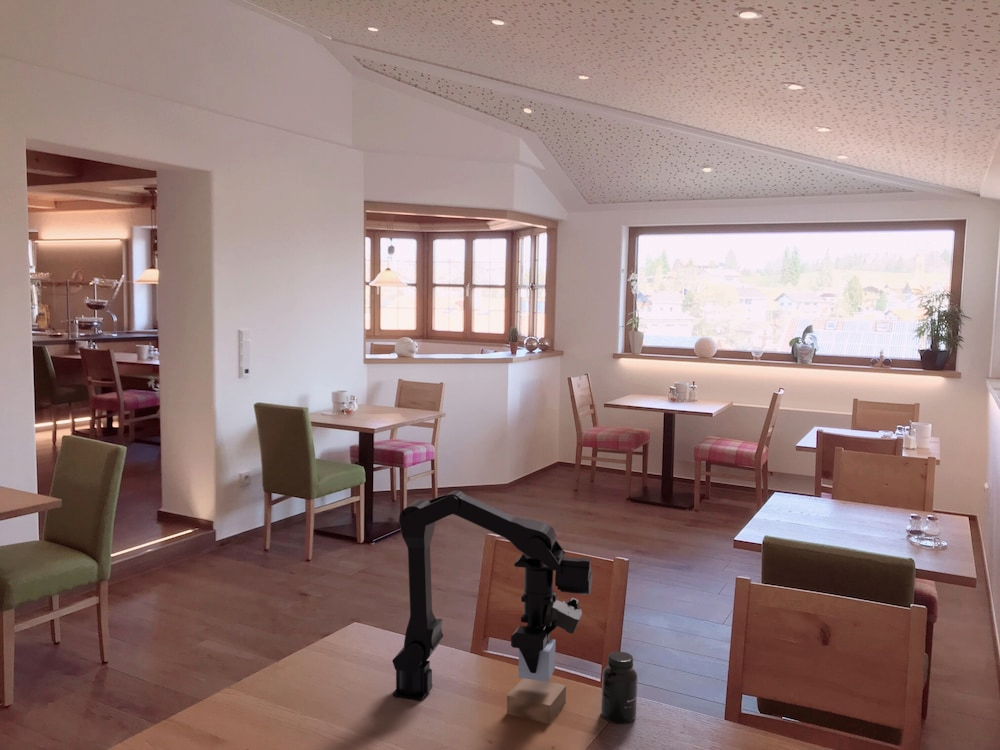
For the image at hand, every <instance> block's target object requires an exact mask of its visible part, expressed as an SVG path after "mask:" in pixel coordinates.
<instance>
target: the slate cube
mask: <svg viewBox="0 0 1000 750" xmlns="http://www.w3.org/2000/svg"><path fill="white" fill-rule="evenodd" d="M547 641H548V644H547V645H546V647H545V648H544V650H542V651H540V656H539V661H538V666H537V671H536V673H531V672H530V670H529V668H528V666H527V664H526V662H525V660H524V657H523V655H522V653H521V651H520V650H519V649H518V678H520V679H523V678H525V679H531V680H538V681H545V682H550V679H551V677H552V676H553V674H554V671H555V670H556V648H557V646H556V639H555V638H554V639H553V638H549V639H547Z"/></svg>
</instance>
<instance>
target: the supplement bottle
mask: <svg viewBox="0 0 1000 750" xmlns="http://www.w3.org/2000/svg"><path fill="white" fill-rule="evenodd" d="M601 676H602V677H601V705H600V707H601V708H600V712H601V715H602V717H603V718H604V719H605V720H607V721H609V722H610V723H611V722H612V723H615V724H626V723H627V724H628V723H630V722H633V721H634V720H635V719H636V716H637V705H638V704H637V699H638V678H639V677H638V673H637V671H636V670H635V669H634V657H633V655H632V654H630V653H628V652H625V651H613V652H610V653H609V654H608V655H607V666H606V667H604V669H603V671H602V675H601Z"/></svg>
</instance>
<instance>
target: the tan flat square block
mask: <svg viewBox="0 0 1000 750" xmlns="http://www.w3.org/2000/svg"><path fill="white" fill-rule="evenodd" d="M564 704H567V685H565V684H561V683H558V682H554V681H553V682H552V681H549V682H545V681H538V680H531V679H525V678H521V680H520V681H519V682H518V683H517V684H515V686H514V687H513V688H512V690H511V691H510V692H509V693H508V694H507V695H506V714H507V715H512V716H515V717H519V718H524V719H527V720H531V721H535V722H539V721H540V722H539V723H544V724H547V725H551V723H552V722H553V721H554V719H555V718H556V717H555V716H558V714H559V713H558V712H560V711H561V710H562V709H561V708H563V707H564V706H565V705H564ZM563 705H564V706H563ZM557 713H558V714H557Z"/></svg>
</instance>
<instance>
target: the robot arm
mask: <svg viewBox="0 0 1000 750" xmlns="http://www.w3.org/2000/svg"><path fill="white" fill-rule="evenodd" d="M451 515H454V516H456V517H459V518H460V519H463V520H466V521H467V522H470V523H471V524H474V525H476V526H477V527H481V528H482V529H485V530H486V531H490V532H491V533H493V534H495V535H498V536H501V537H502V538H504V539H506V540H507V541H509V542H510V543H511V544H512V545H513V547H515V549H516V550H518V551H520V552H521V553H522V555H521V556H520V557H517V559H516V560H515V562H514V564H513V566H514V568H515V567H517V568H523V569H524V571H523V572H524V574H523V575H524V577H523V578H524V579H523V583H524V584H523V594H522V595H521V600H520V601H521V602H522V603H523V613H522V614H521V616H520V622H521V623H525V624H526V625H519V626H518V627H517V628H515V630H514V631H513V633H512V635H511V636H510V638H511V639H510V646H511V647H512V648H514V649H518V651H519V650H520V651H521V653H522V655H523V657H524V660H525V662H526V664H527V666H528V668H529V670H530V672H531V673H536V671H537V666H538V661H539V656H540V651H542V650H544V648H545V647H546V645H547V644H548V641H547V639H550V634H551V632H553V631H554V630H556V629H557V627H558V628H561V629H562V630H564V631H565V632H566V633H569V634H575V631H576V630H577V627H578V625H579V623H580V621H581V618H582V616H583V612H582V611H583V610H582V608H580V601H579V599H576V598H574V597H571V598H570V599H568V600H567V601H565V600H563V601H561V600H558V599H557V596H558V594H557V593H556V591H554V583H555V587H557V590H559V591H560V592H561V593H566V594H575V595H583V596H584V595H587V596H590V595H591V593H592V588H593V587H592V586H593V571H592V564H591V563H592V560H591V558H589V557H581V558H577V557H569V556H568V557H567V556H566V555H567V553H566V552H565V550H564V548H563V547H562V546H561V545H560V543H559V541H558V539H557V535H556V534H557V533H556V532H555V529H554V527H553V526H551V525H550V524H549V523H546V522H542V521H539V520H536V519H535V520H534V519H531V518H530V519H528V518H522V517H521V518H520V517H516V516H513V515H511V514H509V513H506V512H505V511H502V510H500V509H498V508H495V507H493V506H492V505H490V504H487V503H484V502H482V501H481V500H478V499H476V498H474V497H472V496H469V495H468V494H466V493H464V492H463V491H461V490H452V491H451V492H450V493H447V494H443V495H439V496H437V497H433V498H431V499H429V500H427V499H423V498H422V499H417V500H415V501H414V502H413V501H412V502H411V503H410V504H409V505H407V506H406V507H405V508H403V509H402V511H401V512H400V513H399V517H398V523H399V528H400V533H401V537H402V539H403V541H404V543H405V545H406V548H407V561H408V563H407V564H408V565H407V567H408V587H409V588H408V589H409V591H408V593H409V594H408V596H409V614H410V615H409V620H408V623H407V627H406V631H405V635H404V640H403V641H404V643H403V647H402V648H401V650H399V652H398V653H397V654H396V655H395V656H394V658H393V659H392V664H393V668H394V670H395V677H396V678H395V686H396V687H395V690H394V691H393V692H392V696H394V697H400V698H406V699H412V700H417V701H423V699H424V698H425V697H426V695H427V694H428V693H429V692H430V691H431V689H432V688H433V670H432V668H431V667H430V665H431V663H430V662H431V661H430V660H428V659H429V658H430V657H431V656H432V654H433V653H434V652H435V651H436V650H437V648H438V647H439V645H440V643H441V640H442V639H443V637H444V633H443V630H442V628H443V627H442V625H443V619H442V618H436V615H435V614H434V613H433V598H432V596H433V594H432V593H433V592H432V565H431V542H432V539H433V535H434V531H435V527H436V522H437V521H440V520H441V519H444V518H446V517H448V516H451ZM554 571H555V579H554ZM554 581H555V582H554Z"/></svg>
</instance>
